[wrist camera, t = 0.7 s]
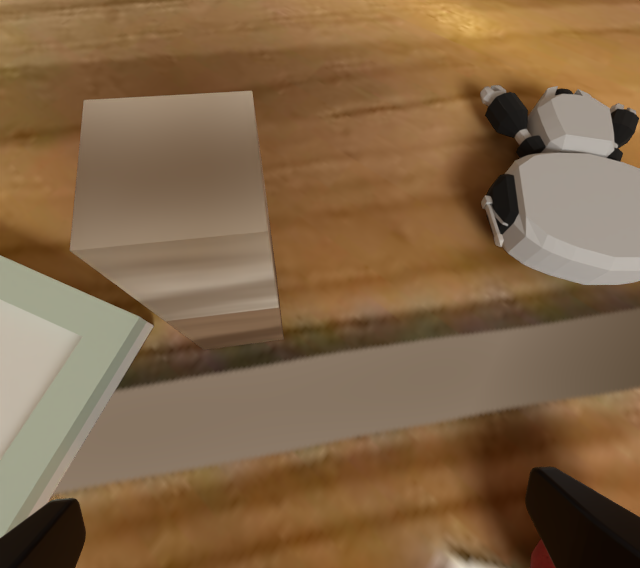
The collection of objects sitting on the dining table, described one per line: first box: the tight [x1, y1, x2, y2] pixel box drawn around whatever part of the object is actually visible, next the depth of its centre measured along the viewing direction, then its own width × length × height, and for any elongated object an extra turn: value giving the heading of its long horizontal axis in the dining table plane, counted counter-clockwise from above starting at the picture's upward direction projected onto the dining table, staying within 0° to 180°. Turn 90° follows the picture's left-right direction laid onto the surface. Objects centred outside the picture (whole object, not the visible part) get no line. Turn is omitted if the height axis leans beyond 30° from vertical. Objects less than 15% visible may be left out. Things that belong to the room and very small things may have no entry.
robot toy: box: [480, 85, 640, 285], centre depth 24 cm, size 12×4×15 cm
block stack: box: [70, 91, 284, 350], centre depth 15 cm, size 4×4×13 cm
